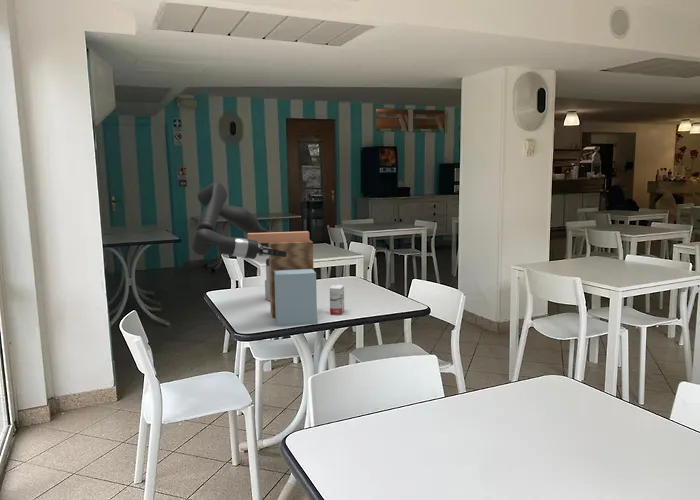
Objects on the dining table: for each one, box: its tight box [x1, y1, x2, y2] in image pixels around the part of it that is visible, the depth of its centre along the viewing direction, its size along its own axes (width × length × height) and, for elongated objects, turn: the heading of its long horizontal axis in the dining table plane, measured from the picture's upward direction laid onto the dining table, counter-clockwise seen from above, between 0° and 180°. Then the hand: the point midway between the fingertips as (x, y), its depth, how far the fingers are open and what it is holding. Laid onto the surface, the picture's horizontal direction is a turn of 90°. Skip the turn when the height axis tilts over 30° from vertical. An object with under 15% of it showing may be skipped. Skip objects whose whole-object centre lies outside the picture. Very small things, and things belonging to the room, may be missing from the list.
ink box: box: [329, 284, 345, 316], centre depth 242 cm, size 9×5×12 cm, turn 168°
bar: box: [246, 230, 311, 244], centre depth 235 cm, size 26×4×4 cm, turn 103°
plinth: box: [268, 239, 314, 319], centre depth 239 cm, size 18×10×32 cm, turn 103°
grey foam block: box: [274, 268, 318, 327], centre depth 227 cm, size 16×10×21 cm, turn 103°
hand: (282, 254), depth 225 cm, fingers open, 8 cm apart
